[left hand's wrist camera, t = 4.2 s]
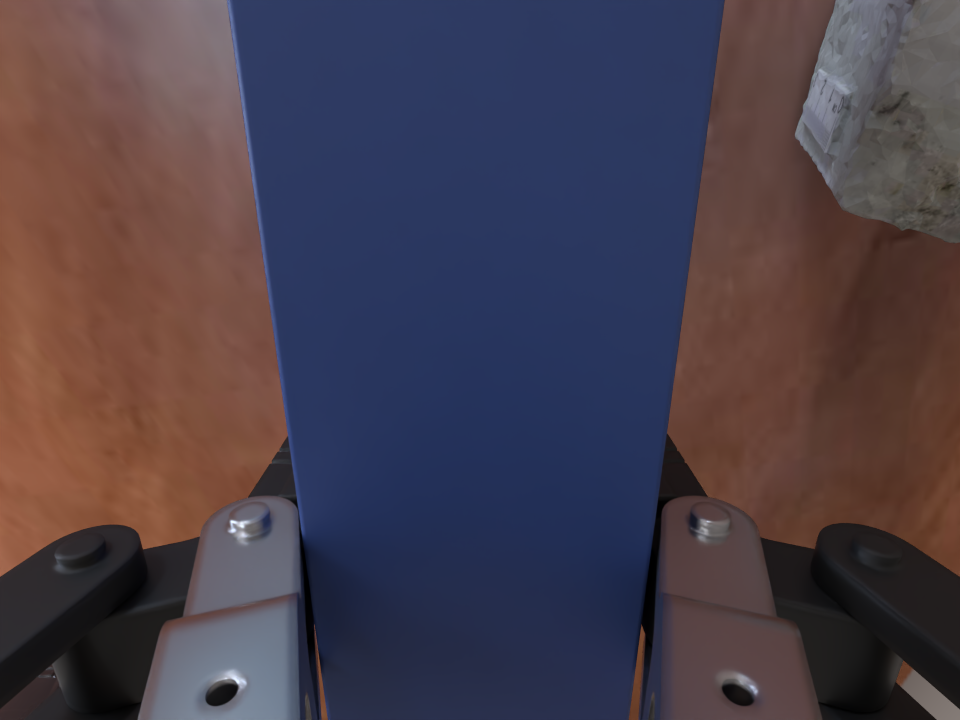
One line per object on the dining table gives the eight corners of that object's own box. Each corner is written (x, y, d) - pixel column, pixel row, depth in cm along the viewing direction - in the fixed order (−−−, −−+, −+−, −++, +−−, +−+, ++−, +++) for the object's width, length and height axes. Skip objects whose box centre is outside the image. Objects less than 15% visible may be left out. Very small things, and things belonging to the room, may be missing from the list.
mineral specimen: (745, -55, 17) (1032, -188, 10) (957, 11, 19) (1320, -60, 12) (677, 192, 20) (866, 229, 13) (872, 226, 22) (1130, 274, 15)
